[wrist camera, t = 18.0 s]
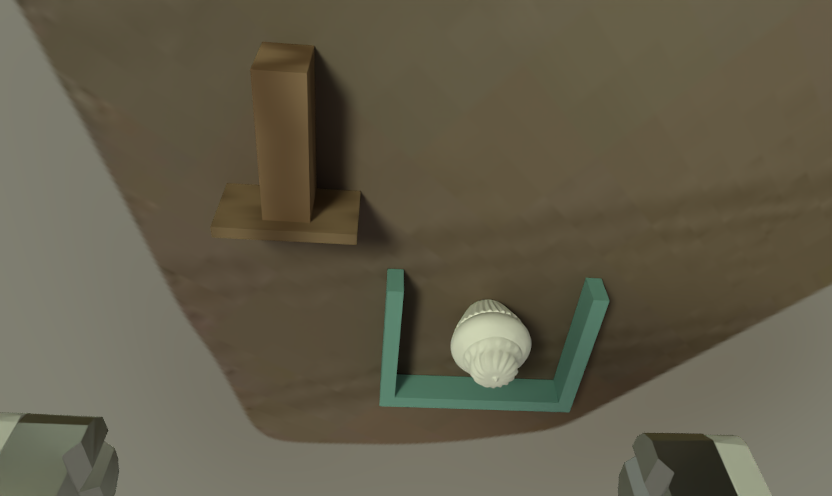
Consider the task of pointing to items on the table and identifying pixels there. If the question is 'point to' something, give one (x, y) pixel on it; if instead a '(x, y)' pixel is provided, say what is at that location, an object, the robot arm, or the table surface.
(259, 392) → the table surface
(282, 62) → the wooden post on base
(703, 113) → the table surface
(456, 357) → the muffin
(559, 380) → the frame
